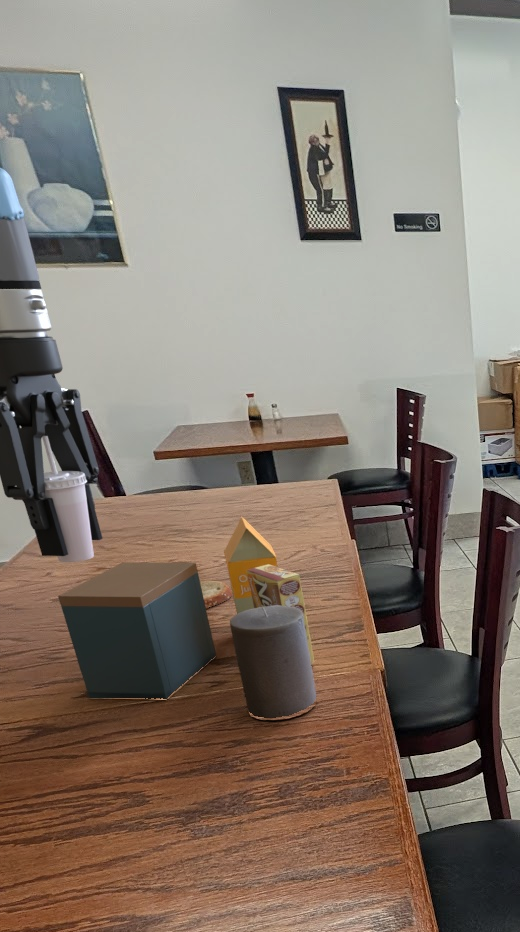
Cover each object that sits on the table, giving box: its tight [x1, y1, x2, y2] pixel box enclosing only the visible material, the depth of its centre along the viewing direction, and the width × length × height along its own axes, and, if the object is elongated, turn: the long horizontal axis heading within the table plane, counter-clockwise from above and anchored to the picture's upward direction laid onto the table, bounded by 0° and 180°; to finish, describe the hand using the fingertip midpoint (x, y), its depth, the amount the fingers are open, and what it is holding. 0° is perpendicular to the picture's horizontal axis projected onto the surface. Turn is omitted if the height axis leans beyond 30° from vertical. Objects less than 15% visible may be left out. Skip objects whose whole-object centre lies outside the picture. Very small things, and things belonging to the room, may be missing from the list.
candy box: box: [247, 564, 315, 664], centre depth 128 cm, size 9×4×15 cm, turn 50°
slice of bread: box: [200, 580, 233, 610], centre depth 156 cm, size 18×18×4 cm
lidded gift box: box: [57, 561, 217, 699], centre depth 124 cm, size 12×16×16 cm
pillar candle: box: [229, 605, 317, 718], centre depth 114 cm, size 10×10×15 cm
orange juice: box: [223, 515, 279, 615], centre depth 138 cm, size 8×9×20 cm
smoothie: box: [32, 436, 95, 563], centre depth 95 cm, size 6×6×14 cm
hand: (73, 546), depth 98 cm, fingers closed on smoothie, 6 cm apart
